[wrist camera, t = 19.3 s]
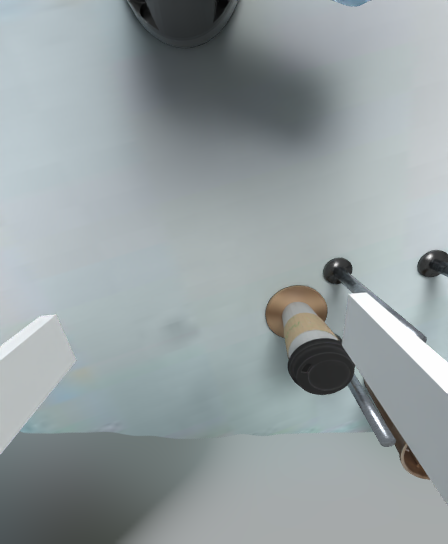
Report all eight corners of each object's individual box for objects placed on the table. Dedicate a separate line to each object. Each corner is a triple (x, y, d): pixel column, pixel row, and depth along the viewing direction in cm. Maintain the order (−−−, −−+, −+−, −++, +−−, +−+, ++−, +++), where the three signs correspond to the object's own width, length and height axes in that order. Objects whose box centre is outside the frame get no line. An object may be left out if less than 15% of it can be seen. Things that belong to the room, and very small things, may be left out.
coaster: (264, 287, 45) (265, 290, 44) (327, 283, 44) (329, 285, 44) (266, 337, 50) (266, 340, 49) (323, 334, 49) (325, 337, 48)
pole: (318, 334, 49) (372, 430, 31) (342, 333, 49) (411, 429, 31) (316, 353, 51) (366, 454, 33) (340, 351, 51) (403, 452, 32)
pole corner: (324, 258, 43) (396, 323, 24) (352, 256, 42) (447, 320, 24) (322, 283, 45) (388, 360, 26) (349, 281, 44) (434, 358, 26)
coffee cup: (272, 295, 45) (290, 350, 31) (322, 291, 44) (364, 345, 30) (274, 335, 48) (291, 400, 35) (320, 332, 48) (356, 397, 34)
